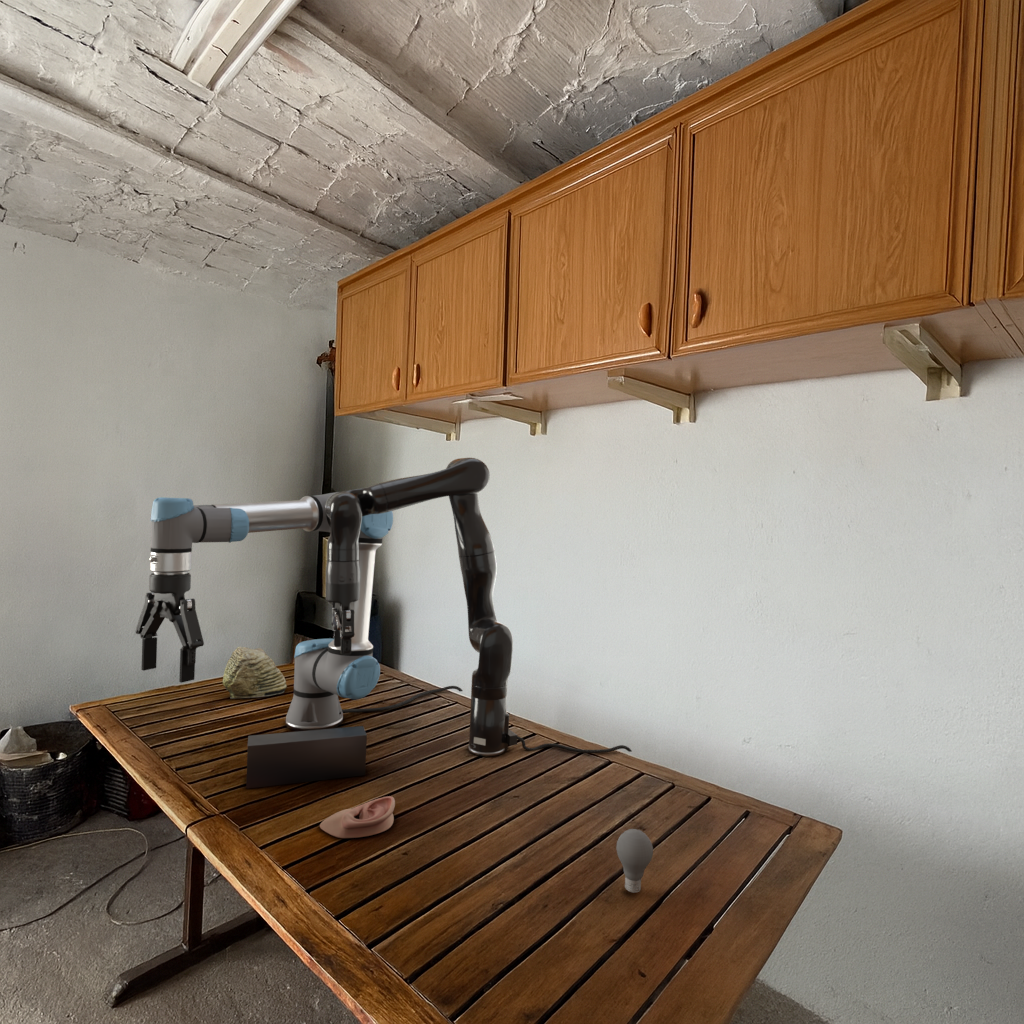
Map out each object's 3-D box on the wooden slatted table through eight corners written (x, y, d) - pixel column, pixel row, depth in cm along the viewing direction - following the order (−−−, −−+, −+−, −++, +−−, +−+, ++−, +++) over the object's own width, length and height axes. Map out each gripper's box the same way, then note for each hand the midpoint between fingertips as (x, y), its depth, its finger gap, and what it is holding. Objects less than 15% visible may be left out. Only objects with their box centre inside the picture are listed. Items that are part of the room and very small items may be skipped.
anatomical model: (312, 812, 119) (340, 786, 130) (311, 833, 119) (340, 805, 130) (378, 823, 116) (401, 795, 127) (377, 844, 116) (401, 814, 127)
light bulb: (610, 879, 108) (613, 822, 108) (644, 879, 109) (647, 822, 109) (619, 902, 102) (622, 840, 102) (655, 901, 103) (658, 840, 103)
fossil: (218, 695, 195) (220, 647, 195) (278, 685, 208) (279, 640, 207) (228, 703, 189) (230, 653, 188) (289, 692, 201) (290, 645, 201)
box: (246, 789, 136) (247, 745, 136) (246, 777, 141) (248, 735, 141) (365, 775, 145) (366, 734, 145) (361, 764, 151) (363, 725, 150)
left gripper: (118, 568, 134) (116, 668, 134) (189, 580, 121) (185, 690, 121) (154, 565, 140) (151, 661, 140) (224, 576, 127) (221, 681, 128)
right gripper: (366, 583, 139) (365, 656, 140) (353, 575, 152) (352, 642, 153) (331, 585, 136) (330, 660, 137) (320, 576, 149) (320, 645, 150)
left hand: (167, 674), depth 131 cm, fingers open, 13 cm apart
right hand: (342, 650), depth 145 cm, fingers open, 8 cm apart
